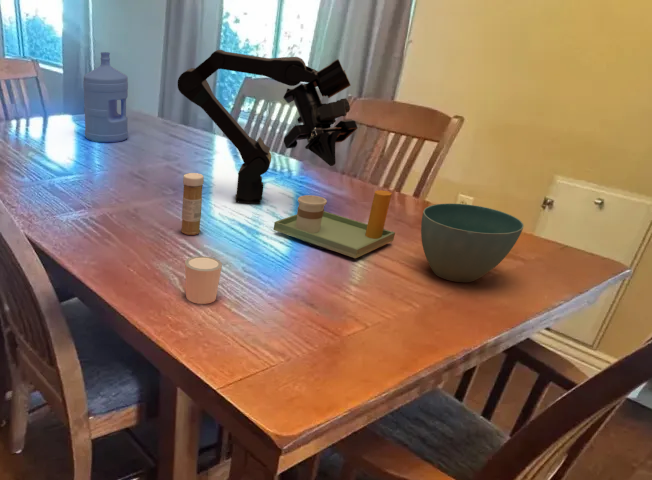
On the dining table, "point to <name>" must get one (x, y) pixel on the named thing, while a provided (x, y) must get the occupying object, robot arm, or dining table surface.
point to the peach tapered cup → (202, 279)
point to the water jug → (105, 103)
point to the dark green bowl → (466, 239)
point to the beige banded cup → (310, 213)
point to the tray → (346, 230)
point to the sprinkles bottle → (192, 203)
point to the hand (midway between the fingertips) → (333, 164)
